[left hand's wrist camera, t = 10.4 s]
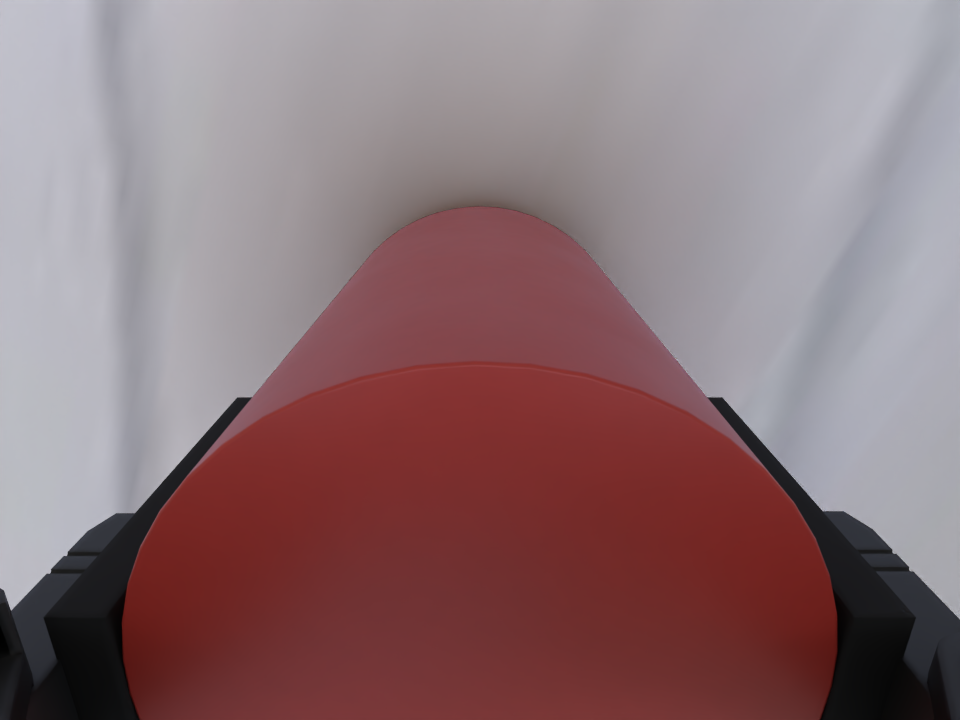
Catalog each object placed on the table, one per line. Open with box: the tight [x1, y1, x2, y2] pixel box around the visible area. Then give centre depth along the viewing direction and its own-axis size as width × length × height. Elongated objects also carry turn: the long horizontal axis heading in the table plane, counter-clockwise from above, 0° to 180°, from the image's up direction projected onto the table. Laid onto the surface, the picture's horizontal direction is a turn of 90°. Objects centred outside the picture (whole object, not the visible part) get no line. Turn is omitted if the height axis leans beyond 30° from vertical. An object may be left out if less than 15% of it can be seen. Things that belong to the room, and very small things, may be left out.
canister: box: [122, 206, 837, 720], centre depth 14 cm, size 9×9×13 cm
